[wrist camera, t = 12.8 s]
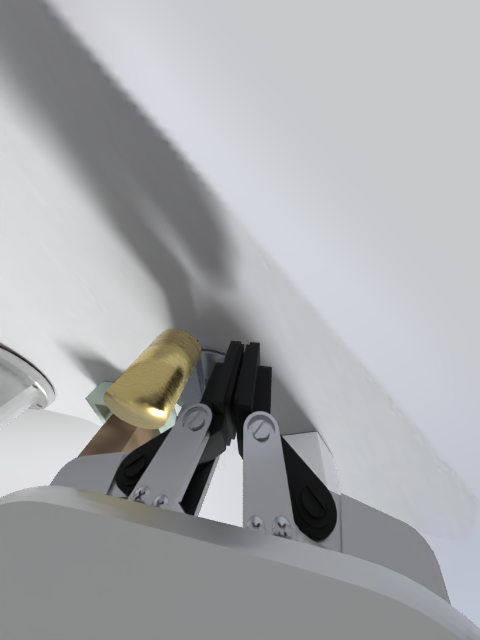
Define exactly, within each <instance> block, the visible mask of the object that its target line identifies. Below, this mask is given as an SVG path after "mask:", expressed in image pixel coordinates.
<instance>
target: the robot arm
mask: <svg viewBox="0 0 480 640" xmlns="http://www.w3.org/2000/svg"><path fill="white" fill-rule="evenodd" d="M271 374H272V367H267V366H260V343H255V342H250V345H246V349H245V351H244V344H241V342H239V341H231V343H230V345H229V348H228V351H227V354H226V357H225V360H224V363H220V362H217V363H216V364H215V366H214V368H213V371H212V373H211V376H210V378H209V381H208V383H207V386H206V388H205V391H204V393H203V396H202V398H201V401H200V403H198V404H193V405H191V406H189V407H187V408H186V409H185V410H184V411H183V412H182V414H181V415H180V417H179V418H178V420H177V421H176V423H175V425H174V426H173V427H171V428H169V429H168V430H166V431H164V432H163V433H161V434H160V435H158V436H156V437H155V438H153V439H151V440H150V441H148V442H146V443H145V444H143V445H142V446H140V447H138V448H137V449H135V450H133V451H132V452H131V453H127V454H126V453H125V452H117V453H108V454H98V455H89V456H81V457H78V458H75V459H74V460H72V461H70V462H68V463H67V464H66V465H65V466H64V467H63V468H62V469H61V470H60V471H59V472H58V474H57V475H56V476H55V478H54V479H53V481H52V482H51V484H50V485H49V486H38V487H32V488H27V489H23V490H19V491H16V492H13V493H10V494H8V495H6V496H3V497H1V498H0V640H480V629H479V628H478V627H477V626H476V625H475V624H474V623H473V622H472V621H470V620H469V619H468V618H467V617H466V616H464V615H463V614H462V613H460V612H459V611H458V610H457V609H455V608H454V607H453V606H451V604H450V600H449V597H448V594H447V590H446V587H445V583H444V580H443V577H442V573H441V570H440V566H439V564H438V561H437V559H436V557H435V554H434V552H433V550H432V549H431V548H430V546H429V545H428V543H427V542H426V540H425V539H424V538H423V537H422V536H421V535H420V534H419V533H418V532H417V531H416V530H415V529H414V528H412V527H411V526H409V525H408V524H406V523H405V522H402V521H400V520H398V519H396V518H394V517H392V516H389V515H387V514H385V513H383V512H381V511H379V510H376V509H374V508H372V507H370V506H368V505H366V504H363V503H361V502H359V501H357V500H355V499H353V498H350V497H348V496H346V495H344V494H342V493H341V494H340V495H339V494H337V493H335V492H332V491H330V490H328V489H327V487H326V486H325V485H324V484H323V482H322V481H321V480H320V479H319V478H318V477H317V476H316V474H315V473H314V472H313V471H312V470H311V469H310V468H309V466H308V465H307V464H306V463H305V462H304V461H303V460H302V458H301V457H300V456H299V455H298V454H297V453H296V452H295V450H294V449H293V448H292V447H291V446H290V445H289V444H288V442H287V441H286V440H285V439H284V438H283V437H282V436H281V434H280V431H279V426H278V423H277V421H276V420H275V418H274V417H273V416H272V415H270V406H271ZM54 398H55V395H54V391H53V389H52V387H51V385H50V384H49V383H48V382H47V380H46V379H45V378H44V377H43V376H42V375H41V374H40V373H39V372H38V371H37V370H35V369H34V368H33V367H32V366H30V365H29V364H28V363H26V362H25V361H24V360H22V359H20V358H19V357H17V356H16V355H14V354H12V353H10V352H8V351H6V350H4V349H2V348H0V430H1V429H2V428H3V427H5V426H6V425H7V424H8V423H10V422H11V421H12V420H14V419H15V418H16V417H17V416H19V415H20V414H21V413H22V412H23V411H25V410H26V409H27V408H30V409H44V408H46V407H47V406H49V405H50V404H51V403H52V402H53V401H54ZM236 433H237V442H238V451H239V454H240V456H241V457H242V459H243V528H242V527H238V526H234V525H230V524H226V523H221V522H217V521H213V520H209V519H205V518H200V517H198V515H199V512H200V509H201V507H202V504H203V501H204V498H205V496H206V493H207V490H208V488H209V485H210V482H211V479H212V477H213V474H214V471H215V468H216V466H217V463H218V460H219V456H220V454H222V453H223V452H224V451H225V450H226V445H227V446H230V442H231V439H235V436H236Z"/></svg>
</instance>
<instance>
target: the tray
mask: <svg viewBox="0 0 480 640" xmlns="http://www.w3.org/2000/svg"><path fill="white" fill-rule="evenodd" d="M112 385H113V383H111V382H105V381H102V382H101V383H100V384H99V385H98V386H97V387H96V388H95V389H94V390H93V391H92V392H91V393H90V394H89V395H88V396H87V397H86V398H85V399H86V400H87V402H88V403H89V404H90V406H91V407H92V409H93V410H94V411H95V413H96V414H97V416H98V417H99V419H100V420H101V421H102V423H103V424H105V422H106V421H107V420H108V419H109V417H110V416H111V415H112V414H113V413H112V412H111V411H110V410H109V409H108V407H107V406H106V404H105V402H104V393H105V392H106V391H107V390H108V389H109V388H110V387H111V386H112ZM176 418H177V416H176V413H175V410H174V408H173V410H172V412H171V414H170V416H169V418H168V420H167V421H166V423H165V425H164V426H163V427H161V428H158V429H156V430H155V431H154V433H153V435H152V437H151V439H153V438H155V437H156V436H158V435H160V434H161V433H163V432H164V431H166V430H168V429H169V428H171V427H173V426H174V425H175V421H176ZM151 439H150V440H151ZM150 440H149V441H150Z"/></svg>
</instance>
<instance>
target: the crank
mask: <svg viewBox="0 0 480 640" xmlns="http://www.w3.org/2000/svg"><path fill="white" fill-rule="evenodd" d="M205 388H206V385H205V379H204V373H203V367H202V361H201V347H200V345H199V343H198V340H196V339H195V338H194V337H193V336H192V335H190V334H189V333H187V332H185V331H183V330H179V329H167V330H165V331H163V332H162V333H161V334H160V335H159V336H158V337H157V338H156V339H155V340H154V341H153V342H152V343H151V344H150V345H149V347H148V348H147V349H146V350H145V351H144V352H143V353H142V354H141V355H140V356H139V357H138V358H137V359H136V360H135V361H134V362H133V363H132V364H131V366H130V367H129V368H128V369H127V370H126V371H125V372H124V373H123V374H122V375H121V376H120V377H119V378H118V379H117V380H116V381H115V382H114V383H113V385H112V386H111V387H110V388H109V389H108V390H107V391H106V392H105V393H104V402H105V404H106V406H107V407H108V409H109V410H110V411H111V412H112V413H113V414H115V415H116V416H117V417H118V418H120V419H122V420H123V421H125V422H127V423H129V424H131V425H134V426H136V427H140V428H144V429H158V428H161V427H163V426H164V425H165V423H166V421H167V420H168V418H169V416H170V414H171V412H172V410H173V408H174V406H175V404H176V402H177V400H178V399H179V397H180V395H181V397H182V401H183V406H182V408H181V410H180V412H179V414H178V416H177V418H176V421H177V420H178V418H179V417H180V415H181V414H182V412H183V411H184V410H185V409H186V408H187V407H189V406H191V405H193V404H198V403H200V401H201V398H202V396H203V393H204V391H205ZM176 421H175V423H176Z"/></svg>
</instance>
